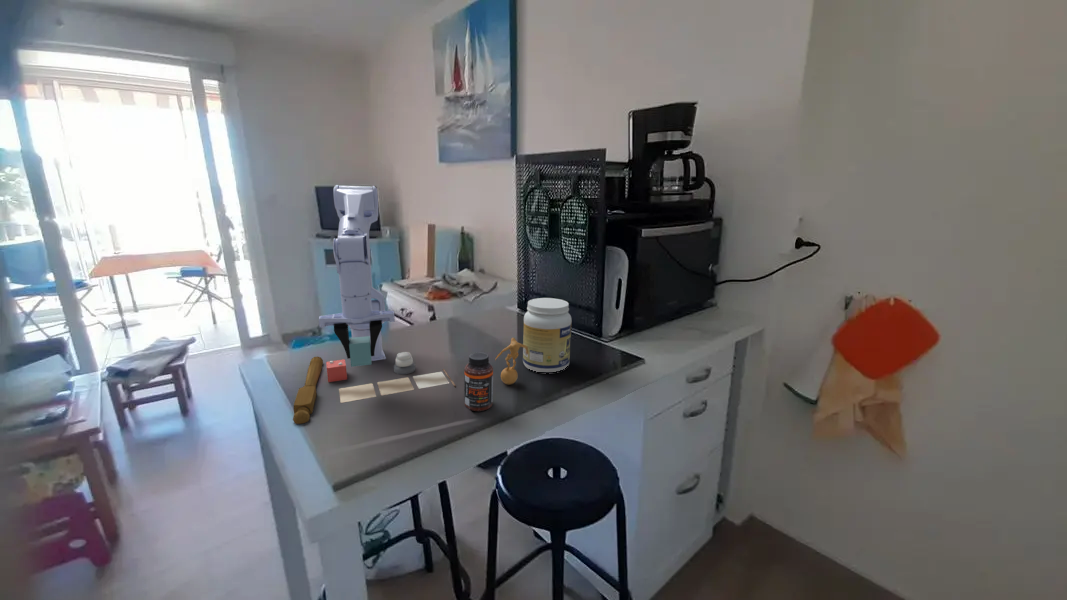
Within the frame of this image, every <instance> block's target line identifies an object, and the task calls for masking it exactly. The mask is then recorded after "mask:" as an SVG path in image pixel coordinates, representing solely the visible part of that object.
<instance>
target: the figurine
mask: <svg viewBox="0 0 1067 600" xmlns="http://www.w3.org/2000/svg"><path fill="white" fill-rule="evenodd" d="M520 348H522V349H523V348H526V354H528V347H527V346H526V345H523V343H520V342H518V341H517V340H516V338H515V337H511V340H510V344H509V345H508V346H507V347H504V348H503V349H502V350H501V351H500V352H499V353H498V354H497V356H496V357H495V361H496V360H497V358H499V357H500V356H501V355H503V353H504V352H506V351H508V350H509V351H510V353H507V356H506V357H505V362H506V365H507V367H504V369H502V370H501V372H500V379H501V382H503V384H505V385H513V384H514V383H516V381H517V379H518V375H519V374H518V371H517V370H516V369H515V368H516V364H517V361H516V359H517V358H518V357H519V350H520ZM511 359H512V363H513V365H512V366H510V365H511V363H510V360H511Z"/></svg>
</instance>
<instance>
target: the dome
mask: <svg viewBox="0 0 1067 600" xmlns="http://www.w3.org/2000/svg"><path fill="white" fill-rule="evenodd" d="M413 360H414V359H413V356H412V354H411V353H410V352H409V351H402V352H398V353H397V354H396V357H395V364H396V366H399V367H407V366H410V365H412V364H413V363H414V361H413Z"/></svg>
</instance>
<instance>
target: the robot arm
mask: <svg viewBox="0 0 1067 600" xmlns="http://www.w3.org/2000/svg"><path fill="white" fill-rule="evenodd" d="M332 193H333V203H334V208H335V210H336V213H337V217H338V218H339V223H338V232H337V238H335V237H334V238H333V242H332V250H333V257H334V261H335V266H336V273H337V274H338V278H339V279H338V280H339V290H340V291H339V292H340V300H341V303H340V304H341V312H339V313H333V314H326V315H319V316H318V325H319V326H318V327H319V328H325V327H330V326H331V327H332V326H333V332H334V334H335V335H336V338H338V339H339V341H340V343H341V345H342V346H343V349H344V352H345V354H346V358H347V359H349V360H350V349H349V341H350V335H349V333H350V332H351V338H354V337H365V336H370V346H371V362H374V361H380V360H386V359H387V357H386V355H385V352H384V350H383V337H382V328H383V324H384V323H385V322H389V323H391V322H392V323H393V322H395V321H396V320H395V311H394V310H386V306H385V305H386V304H385V303H386V302H385V299H384V298H385V297H384V294H383V293H382V292H381V291H380V290H378V289H377V288H374V287H373V279H372V261H371V245H370V243H371V242H370V229H371V225H372V224H373V223H375V222H377V221H378V218H379V195H378V188H377V187H376V186H375V185H371V186H369V185H368V186H367V185H366V186H365V185H364V186H363V185H362V186H361V185H339V184H336V185H334V187H333V192H332ZM373 299H374V300H373ZM349 330H350V332H349Z"/></svg>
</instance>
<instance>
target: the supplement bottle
mask: <svg viewBox="0 0 1067 600" xmlns="http://www.w3.org/2000/svg"><path fill="white" fill-rule="evenodd" d="M489 358H490V357H489V354H487V353H486V352H481V351H478V352H473V353H472V352H471V354H469V356H468V363H467V364H466V365H465V366H464V369H463V371H464V373H463V374H464V380H463V381H464V384H463V385H464V391H463V392H464V396H463V397H464V399H463V400H464V406H465V407H466V408H468V409H469V410H470V411H472V412H483V411H487V410H489V409H490V408H492V406H493V403H494V402H493V401H494V367H493V365H492V364H491V363H490V362H489V361H490V360H489Z"/></svg>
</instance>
